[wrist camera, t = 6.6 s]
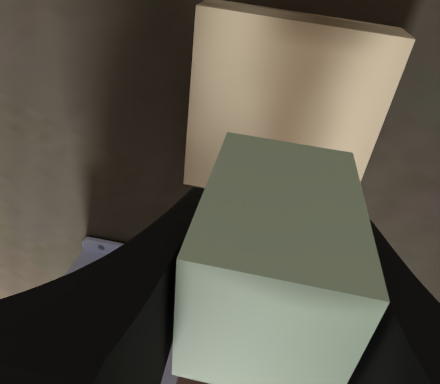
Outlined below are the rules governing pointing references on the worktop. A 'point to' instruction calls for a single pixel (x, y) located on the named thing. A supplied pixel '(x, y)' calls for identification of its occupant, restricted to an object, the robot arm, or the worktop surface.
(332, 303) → the green block
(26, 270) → the worktop surface
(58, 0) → the worktop surface
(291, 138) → the birch block
